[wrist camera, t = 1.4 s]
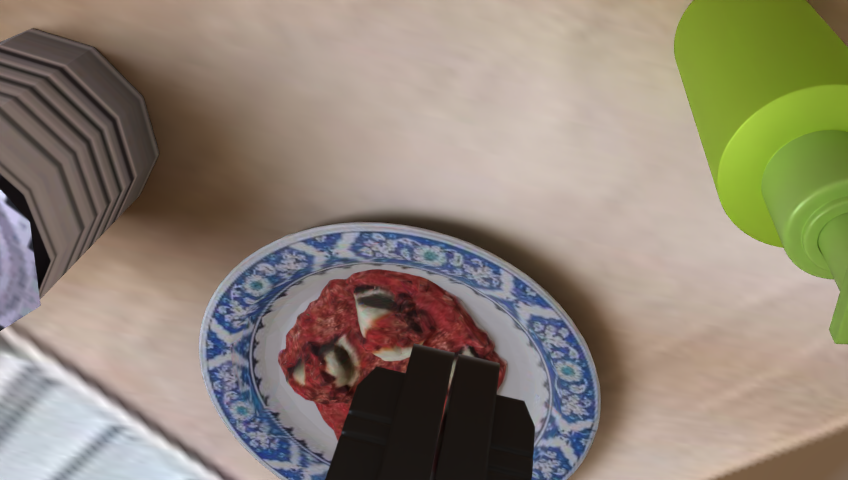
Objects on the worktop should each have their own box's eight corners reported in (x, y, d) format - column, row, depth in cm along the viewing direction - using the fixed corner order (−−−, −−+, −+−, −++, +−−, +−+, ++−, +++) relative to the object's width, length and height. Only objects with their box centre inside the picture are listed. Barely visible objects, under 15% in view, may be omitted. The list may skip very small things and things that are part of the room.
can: (88, 240, 48) (-38, 369, 38) (-64, 104, 44) (-248, 208, 34) (199, 146, 43) (87, 268, 33) (38, -17, 39) (-144, 65, 29)
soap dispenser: (827, -56, 32) (1094, 159, 16) (798, 97, 36) (988, 402, 19) (682, -49, 33) (788, 160, 17) (668, 99, 37) (744, 389, 20)
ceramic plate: (138, 330, 52) (116, 359, 49) (414, 119, 40) (403, 144, 37) (389, 540, 60) (381, 574, 57) (681, 419, 48) (687, 455, 45)
